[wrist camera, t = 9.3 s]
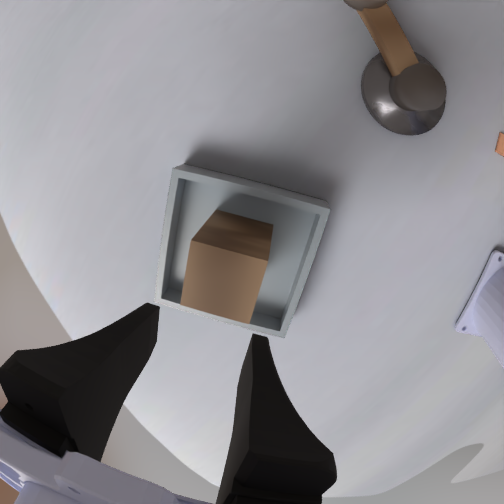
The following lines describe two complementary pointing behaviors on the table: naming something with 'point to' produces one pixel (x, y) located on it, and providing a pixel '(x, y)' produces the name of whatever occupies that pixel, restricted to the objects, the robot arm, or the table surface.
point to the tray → (251, 206)
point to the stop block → (227, 266)
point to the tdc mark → (500, 144)
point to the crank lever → (401, 59)
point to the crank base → (384, 106)
